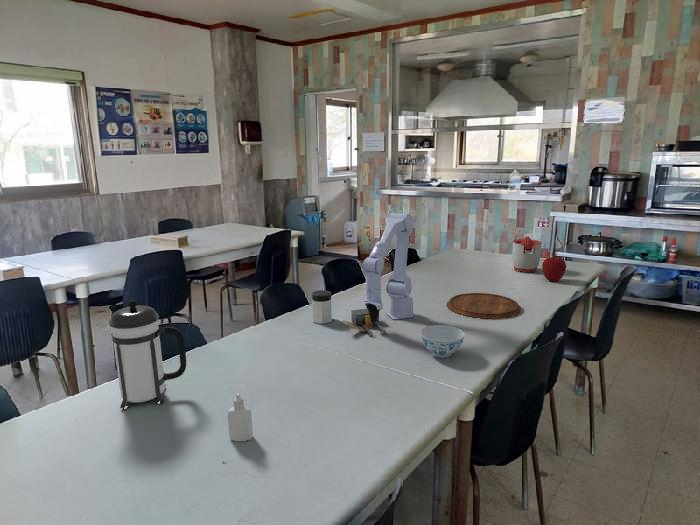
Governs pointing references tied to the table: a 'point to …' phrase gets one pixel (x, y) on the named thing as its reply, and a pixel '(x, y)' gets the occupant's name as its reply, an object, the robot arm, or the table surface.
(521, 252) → the citrus juicer
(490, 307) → the cutting board
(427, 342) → the chinaware
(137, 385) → the coffee press
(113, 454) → the table surface
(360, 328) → the keeper tab
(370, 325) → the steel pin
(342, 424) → the table surface
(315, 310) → the jar
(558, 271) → the apple
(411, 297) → the robot arm
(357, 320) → the hitch block
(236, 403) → the eye dropper bottle
